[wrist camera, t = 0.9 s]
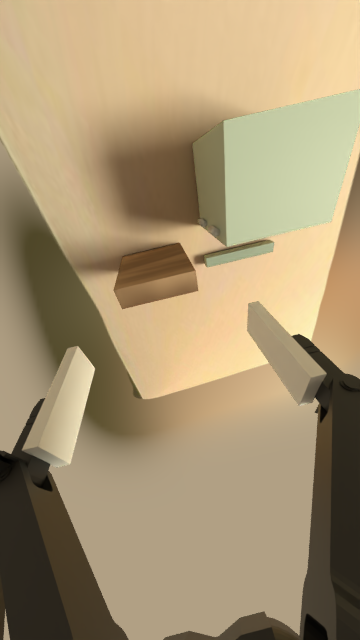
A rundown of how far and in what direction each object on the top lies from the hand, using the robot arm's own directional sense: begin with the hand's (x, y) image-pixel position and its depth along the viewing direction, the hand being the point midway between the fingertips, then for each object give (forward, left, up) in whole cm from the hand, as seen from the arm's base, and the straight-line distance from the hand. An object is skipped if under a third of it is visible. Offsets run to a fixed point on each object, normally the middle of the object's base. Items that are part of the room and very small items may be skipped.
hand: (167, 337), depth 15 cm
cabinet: (-5, +13, -19) cm, 23 cm away
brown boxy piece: (0, 0, -19) cm, 19 cm away
